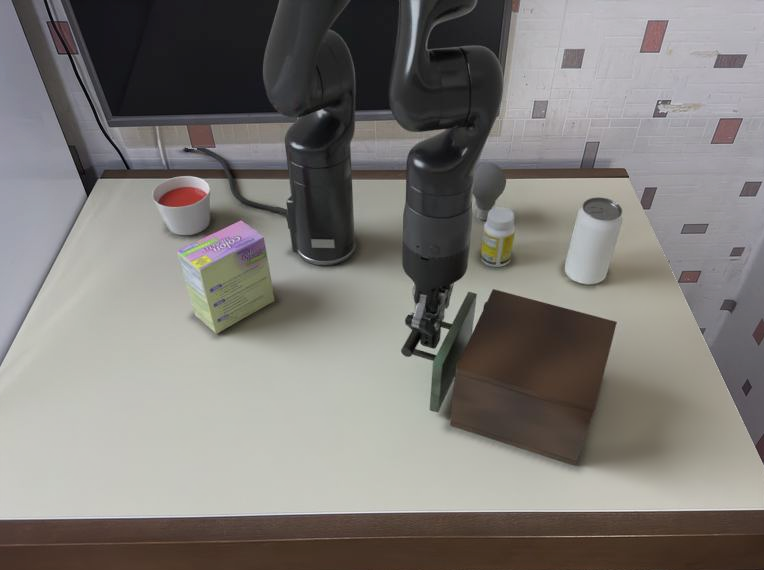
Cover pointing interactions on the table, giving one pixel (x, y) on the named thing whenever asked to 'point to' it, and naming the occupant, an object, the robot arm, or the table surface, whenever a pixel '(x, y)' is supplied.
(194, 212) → the candle
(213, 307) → the box
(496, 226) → the supplement bottle
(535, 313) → the cabinet
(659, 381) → the table surface
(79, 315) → the table surface
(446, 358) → the drawer
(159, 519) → the table surface
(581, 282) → the can
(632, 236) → the table surface
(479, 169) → the light bulb
